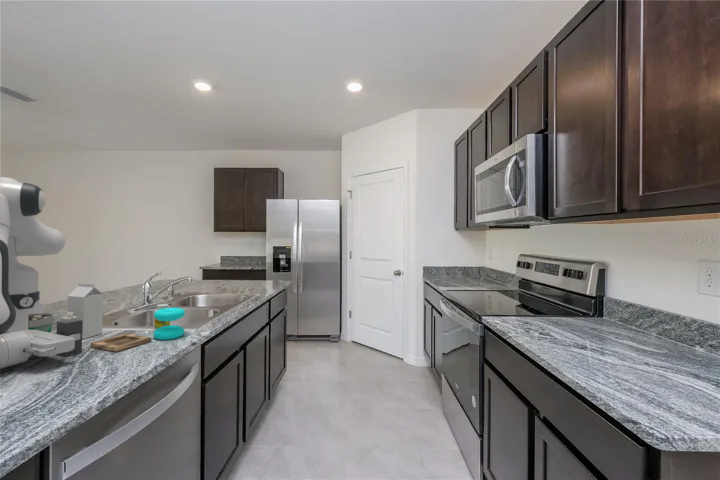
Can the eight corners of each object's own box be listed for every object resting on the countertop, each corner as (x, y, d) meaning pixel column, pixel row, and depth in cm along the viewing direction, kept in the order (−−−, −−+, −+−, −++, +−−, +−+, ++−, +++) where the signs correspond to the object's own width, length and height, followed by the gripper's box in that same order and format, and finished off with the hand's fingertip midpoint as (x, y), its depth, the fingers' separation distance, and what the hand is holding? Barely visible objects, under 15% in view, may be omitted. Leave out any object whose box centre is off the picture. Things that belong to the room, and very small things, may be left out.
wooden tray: (90, 347, 107) (90, 342, 107) (127, 337, 118) (127, 332, 118) (115, 352, 103) (115, 347, 103) (151, 341, 114) (151, 337, 114)
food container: (56, 348, 105) (56, 317, 105) (28, 353, 100) (29, 321, 100) (52, 339, 113) (53, 311, 113) (27, 343, 109) (28, 313, 109)
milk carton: (82, 339, 114) (84, 285, 114) (66, 337, 116) (68, 284, 116) (102, 333, 121) (103, 283, 121) (86, 332, 123) (88, 282, 123)
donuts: (174, 313, 115) (147, 312, 116) (174, 341, 116) (146, 340, 116) (190, 307, 125) (165, 306, 126) (189, 333, 125) (164, 332, 126)
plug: (56, 354, 100) (57, 313, 100) (72, 350, 104) (73, 310, 104) (65, 356, 98) (66, 314, 98) (81, 352, 102) (82, 311, 102)
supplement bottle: (171, 326, 133) (172, 303, 133) (167, 330, 128) (167, 306, 128) (157, 327, 132) (157, 303, 132) (151, 331, 127) (152, 306, 127)
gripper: (37, 342, 85) (95, 328, 98) (-7, 332, 92) (53, 321, 105) (36, 366, 85) (94, 349, 99) (-8, 354, 92) (52, 340, 105)
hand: (72, 334), depth 102 cm, fingers closed on plug, 4 cm apart
